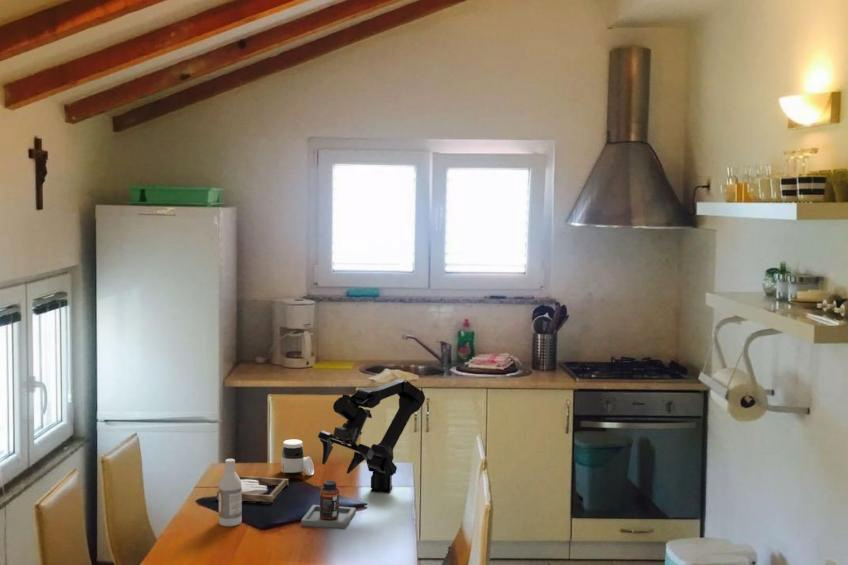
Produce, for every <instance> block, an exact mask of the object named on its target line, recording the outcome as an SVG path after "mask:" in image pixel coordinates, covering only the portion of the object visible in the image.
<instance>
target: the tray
mask: <svg viewBox="0 0 848 565" xmlns="http://www.w3.org/2000/svg"><path fill="white" fill-rule="evenodd" d="M315 510H317V511H315ZM356 510H357V509H356V507H351V506H350V507H349V506H339V516H338V518H336V519H333V520H325V519H322V518H321V517H320V504H312V505H311V507H310V508H309V509H308V510H307V511H306V514H304V516H303V517H302V518H301V521H300V526H302V527H311V528H312V527H313V528H323V529H324V528H325V529H337V530H346V529H347V528H348V527H349V524H350V523H351V521H352V520H353V518H354V516H355V514H356Z"/></svg>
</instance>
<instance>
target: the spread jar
mask: <svg viewBox="0 0 848 565" xmlns="http://www.w3.org/2000/svg"><path fill="white" fill-rule="evenodd" d="M282 443H283V447H282V450H281V472H282V474H283V475H284V476H287V477H297V476H301V475H302V474H303V473H304V472H305V474H306V475H307V476H308V477H309V476H313V475H314V473H315V467H314V466H315V465H314V462H313V460H312V458H311V456H305V453H304V452H305V451H304V448H303V441H302V440H301V439H297V438H296V439H294V438H293V439H286V440H284V441H283V442H282Z"/></svg>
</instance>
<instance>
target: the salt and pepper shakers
mask: <svg viewBox="0 0 848 565" xmlns="http://www.w3.org/2000/svg"><path fill="white" fill-rule="evenodd" d="M241 484H242V493H249V494H263V495H264V493H267V492H268V486H267V485H259V481H257V480H248V479H245V480H241Z"/></svg>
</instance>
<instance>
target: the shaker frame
mask: <svg viewBox="0 0 848 565" xmlns="http://www.w3.org/2000/svg"><path fill="white" fill-rule="evenodd" d="M238 476H239V478H240V480H245V479H248V480H257V481H259V485H263V486H267V485H268V486H270V485H271V487H273V486H272V485H278V486H275V488H274V489H273V490H271V492H270V493H269V494H264V493H263V494H249V493H242V502H243V501H263V502H273V503H274V501H275V500H276V499H277V497H278V496H279V495H280V494H281V493H282V492H283V491H282V489H283V488H284V487H285V486H286V485H288V486H289V478H281V477H279V478H278V477H266V476H265V477H264V476H252V475H249V476H248V475H238ZM268 486H267V487H268ZM281 491H282V492H281ZM280 492H281V493H280ZM279 493H280V494H279ZM278 494H279V495H278ZM277 495H278V496H277ZM276 496H277V497H276ZM275 498H276V499H275ZM274 499H275V500H274ZM216 500H218V501H219V490H218V491H217V492H216ZM273 500H274V501H273Z"/></svg>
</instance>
